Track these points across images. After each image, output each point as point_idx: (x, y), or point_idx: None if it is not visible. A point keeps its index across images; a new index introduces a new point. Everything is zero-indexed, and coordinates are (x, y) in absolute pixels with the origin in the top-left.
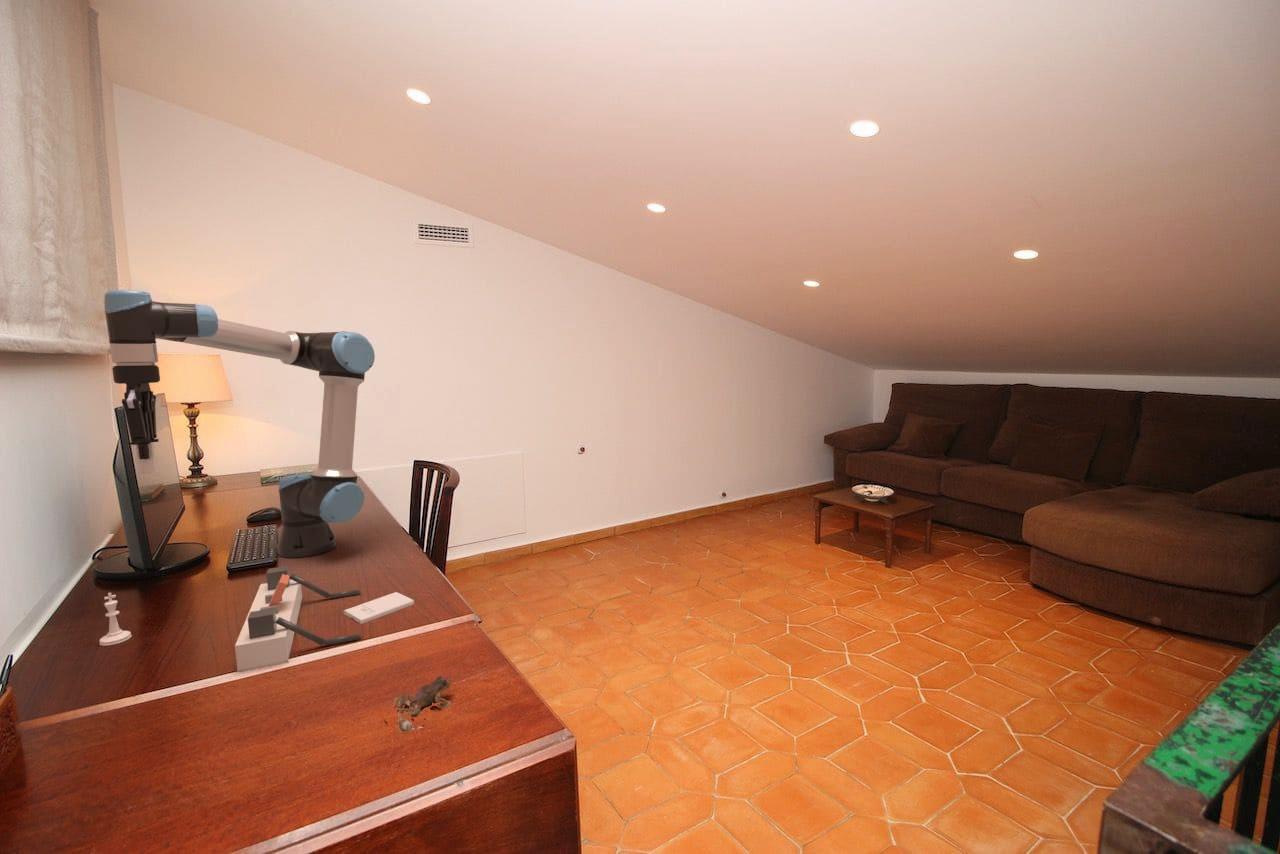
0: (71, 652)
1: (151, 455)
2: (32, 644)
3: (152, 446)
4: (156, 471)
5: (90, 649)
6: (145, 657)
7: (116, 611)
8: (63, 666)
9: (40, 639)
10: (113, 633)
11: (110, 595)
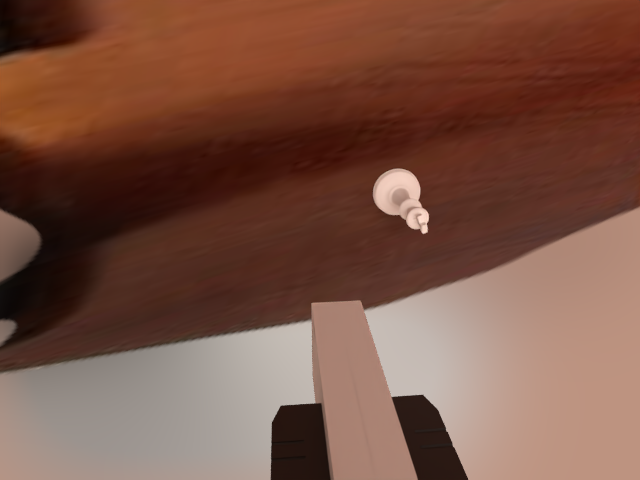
0: (416, 242)
1: (388, 403)
2: None
3: (400, 470)
4: (327, 305)
5: None
6: (516, 112)
7: (409, 204)
8: (472, 232)
9: None
10: (409, 195)
11: (425, 223)
